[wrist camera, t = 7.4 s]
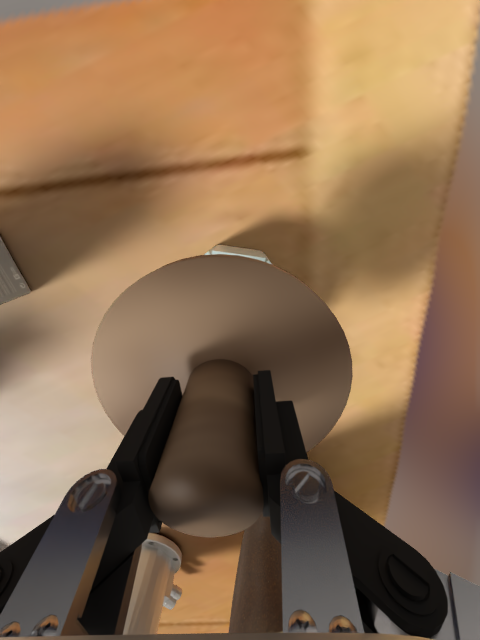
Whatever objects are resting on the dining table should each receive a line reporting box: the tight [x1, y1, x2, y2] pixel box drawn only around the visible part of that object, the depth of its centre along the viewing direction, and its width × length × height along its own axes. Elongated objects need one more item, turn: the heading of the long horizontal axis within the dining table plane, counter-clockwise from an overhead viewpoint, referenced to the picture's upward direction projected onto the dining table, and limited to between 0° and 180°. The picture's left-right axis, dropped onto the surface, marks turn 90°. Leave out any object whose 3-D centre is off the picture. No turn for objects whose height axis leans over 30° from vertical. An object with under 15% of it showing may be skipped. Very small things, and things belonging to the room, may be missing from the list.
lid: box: [91, 254, 352, 537], centre depth 10 cm, size 12×12×6 cm
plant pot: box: [229, 511, 365, 633], centre depth 27 cm, size 15×15×16 cm
